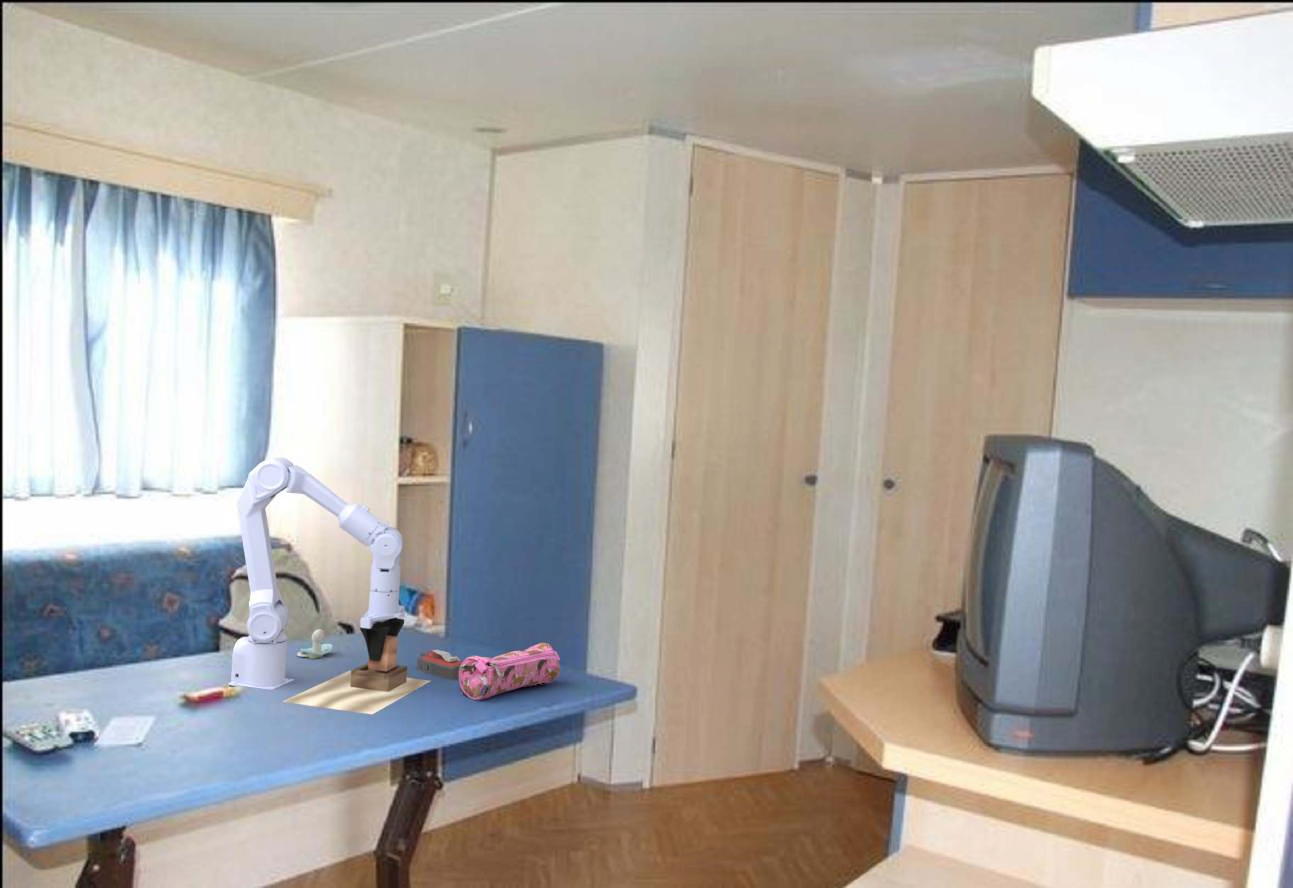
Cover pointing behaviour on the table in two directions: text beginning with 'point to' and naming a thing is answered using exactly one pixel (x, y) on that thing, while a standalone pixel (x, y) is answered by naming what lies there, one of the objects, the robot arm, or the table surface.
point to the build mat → (360, 690)
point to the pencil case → (508, 671)
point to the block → (386, 655)
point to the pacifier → (316, 646)
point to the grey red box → (439, 664)
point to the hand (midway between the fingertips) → (380, 657)
